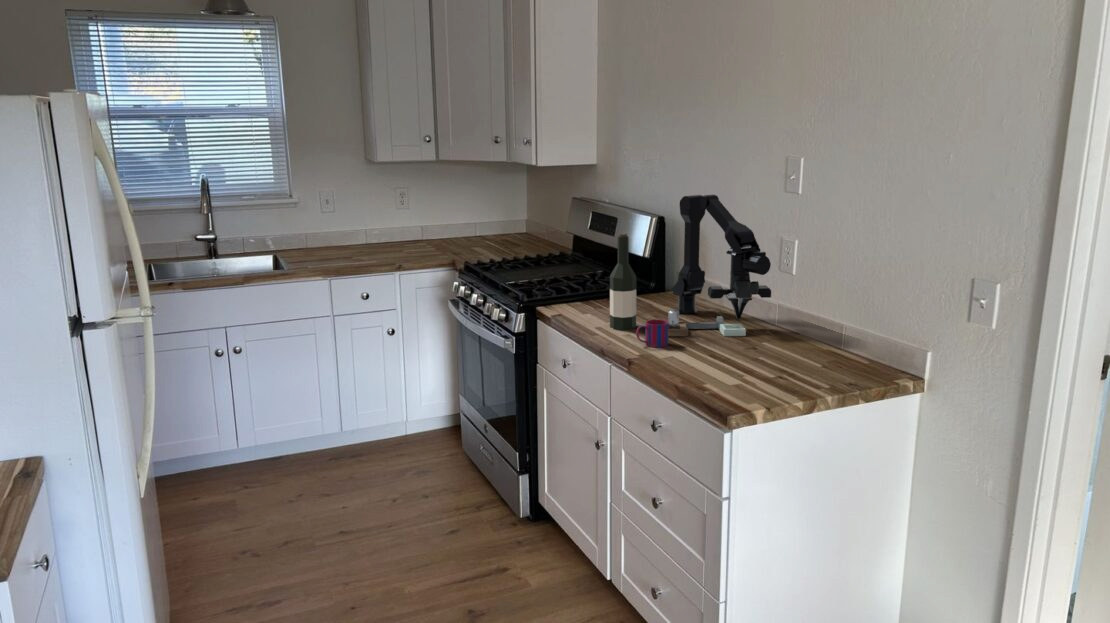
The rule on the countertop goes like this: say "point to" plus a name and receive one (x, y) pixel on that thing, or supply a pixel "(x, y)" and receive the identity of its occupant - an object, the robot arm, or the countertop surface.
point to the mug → (655, 333)
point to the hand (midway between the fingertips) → (738, 318)
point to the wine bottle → (623, 289)
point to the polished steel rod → (673, 319)
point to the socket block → (679, 330)
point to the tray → (732, 330)
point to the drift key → (706, 324)
